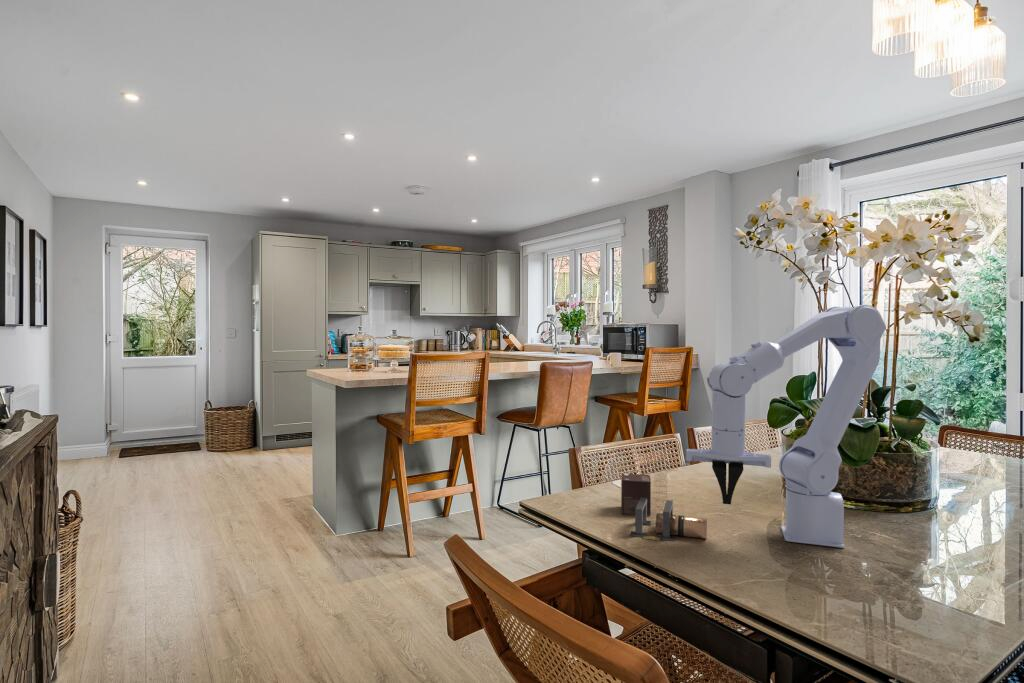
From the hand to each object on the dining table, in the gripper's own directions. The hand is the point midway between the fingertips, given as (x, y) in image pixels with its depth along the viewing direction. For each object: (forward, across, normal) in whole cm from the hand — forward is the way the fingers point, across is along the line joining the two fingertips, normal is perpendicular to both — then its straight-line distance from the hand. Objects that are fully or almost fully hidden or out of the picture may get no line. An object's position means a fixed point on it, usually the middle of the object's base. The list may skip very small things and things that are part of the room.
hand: (726, 502), depth 107 cm
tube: (+6, +8, 0) cm, 10 cm away
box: (+7, +18, -11) cm, 22 cm away
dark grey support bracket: (+7, +10, 0) cm, 12 cm away
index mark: (+7, +13, +5) cm, 15 cm away
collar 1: (+7, +15, 0) cm, 17 cm away
